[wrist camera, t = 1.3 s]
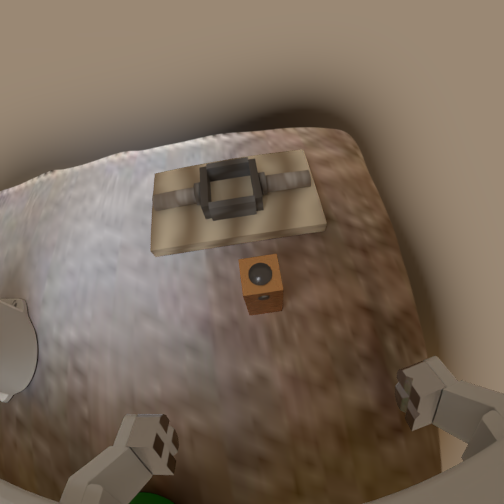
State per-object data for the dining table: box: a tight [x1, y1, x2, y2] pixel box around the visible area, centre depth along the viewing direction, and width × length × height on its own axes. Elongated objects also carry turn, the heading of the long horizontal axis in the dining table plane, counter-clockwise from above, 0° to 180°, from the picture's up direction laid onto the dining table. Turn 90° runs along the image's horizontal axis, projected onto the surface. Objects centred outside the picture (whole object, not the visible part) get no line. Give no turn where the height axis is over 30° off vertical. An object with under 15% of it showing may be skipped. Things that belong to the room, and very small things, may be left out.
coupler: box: [239, 254, 283, 315], centre depth 34 cm, size 4×4×8 cm
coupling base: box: [151, 150, 327, 257], centre depth 42 cm, size 24×14×5 cm, turn 98°
